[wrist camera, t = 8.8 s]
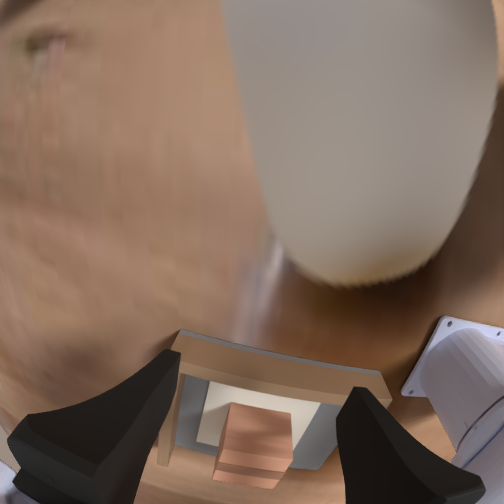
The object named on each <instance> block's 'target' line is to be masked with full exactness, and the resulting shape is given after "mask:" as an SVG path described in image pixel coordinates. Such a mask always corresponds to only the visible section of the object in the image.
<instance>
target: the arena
mask: <svg viewBox="0 0 504 504" xmlns="http://www.w3.org/2000/svg"><path fill="white" fill-rule="evenodd" d="M170 350H173V351H177V352H180V353H181V358H180V366H179V373H178V381H177V389H176V392H175V395H174V398H173V401H172V404H171V407H170V410H169V412H168V414H167V416H166V418H165V421H164V423H163V425H162V427H161V429H160V431H159V440H158V456H157V464H159V465H162V466H165V467H168V463H169V460H170V457H171V454H172V451H173V448H174V445H177V446H180V447H184V448H187V449H191V450H195V451H199V452H203V453H207V454H211V455H216V456H217V451H218V446H219V440H220V436H221V432H222V429H223V426H224V423H225V420H226V417H227V413H228V410H229V407H230V404H231V402H234V403H239V404H244V405H248V406H253V407H258V408H264V409H269V410H275V411H281V412H287V413H291V424H292V444H293V461H292V462H291V464H290V465H289V467H288V468H298V469H310V470H318V469H319V468H320V467H321V466H322V464H323V463H324V462H325V460H326V459H327V458H328V457H329V455H330V454H331V453H332V451H333V450H334V449H335V447H336V446H337V444H338V443H337V437H336V417H337V415H338V414H339V412H340V410H341V408H342V407H343V405H344V403H345V401H346V400H347V398H348V396H349V394H350V392H351V391H352V389H353V387H354V386H357V387H366V388H367V389H368V390H369V391H370V392H371V393H372V394H373V395H374V396H375V397H376V398H377V399H378V400H379V402H380V403H381V404H382V405H383V406H384V407H385V408H386V409H387V408H388V406H389V405H390V403H391V402H392V400H393V399H392V397H391V395H390V392H389V390H388V388H387V386H386V384H385V381H384V379H383V377H382V375H381V373H380V371H376V370H369V369H362V368H355V367H348V366H342V365H336V364H330V363H325V362H319V361H313V360H308V359H303V358H298V357H293V356H288V355H283V354H278V353H274V352H269V351H265V350H260V349H256V348H251V347H247V346H243V345H239V344H235V343H231V342H227V341H223V340H219V339H215V338H211V337H208V336H204V335H200V334H197V333H193V332H190V331H186V330H183V329H181V330H180V332H179V333H178V335H177V337H176V339H175V341H174V343H173V345H172V347H171V349H170Z"/></svg>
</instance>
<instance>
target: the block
mask: <svg viewBox="0 0 504 504" xmlns="http://www.w3.org/2000/svg"><path fill="white" fill-rule="evenodd" d="M292 461H293V444H292V424H291V413H287V412H281V411H275V410H269V409H264V408H258V407H253V406H248V405H244V404H239V403H234V402H231V404H230V407H229V410H228V413H227V417H226V420H225V423H224V426H223V429H222V432H221V436H220V440H219V446H218V451H217V456H216V462H215V467H214V472H213V478H212V479H214V480H219V481H224V482H229V483H234V484H240V485H246V486H253V487H260V488H268V489H273V488H274V487H275V485H276V484H277V483H278V481H279V480H280V479H281V478H282V477H283V475H284V474H285V471H286V470H287V468H288V467H289V465H290V464H291V462H292Z"/></svg>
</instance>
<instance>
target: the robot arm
mask: <svg viewBox="0 0 504 504" xmlns="http://www.w3.org/2000/svg"><path fill="white" fill-rule="evenodd" d="M448 322H450V323H449V324H448ZM447 324H448V325H447ZM180 358H181V353H180V352H177V351H173V350H170V349H165V350H163V351H162V352H161V353H160V354H159V355H158V356H157V357H155V358H154V359H153V360H152V361H151V362H150V363H148V364H147V365H146V366H145V367H143V368H142V369H141V370H139V371H138V372H137V373H135V374H134V375H133V376H131V377H130V378H128V379H127V380H125V381H123V382H122V383H120V384H119V385H117V386H115V387H114V388H112V389H110V390H108V391H106V392H104V393H102V394H100V395H98V396H96V397H94V398H91V399H89V400H87V401H84V402H82V403H79V404H76V405H73V406H69V407H66V408H62V409H58V410H54V411H49V412H42V413H36V414H28V415H27V416H26V417H25V418H24V419H23V420H22V421H21V422H20V423H19V424H18V426H17V427H16V428H15V429H14V431H13V432H12V433H11V435H10V436H9V437H8V438H7V443H8V446H9V448H10V450H11V452H12V454H13V455H14V457H15V459H16V460H17V462H18V464H19V465H20V467H21V469H20V470H19V472H18V473H16V471H14V470H13V469H12V468H11V467H10V466H9V465H7V464H6V463H4V462H3V461H2V460H0V504H133V503H134V499H135V496H136V492H137V489H138V485H139V482H140V479H141V476H142V473H143V470H144V467H145V464H146V461H147V458H148V455H149V453H150V450H151V448H152V446H153V444H154V442H155V439H156V437H157V435H158V433H159V431H160V429H161V427H162V425H163V423H164V421H165V418H166V416H167V414H168V412H169V410H170V407H171V404H172V401H173V398H174V395H175V392H176V389H177V381H178V373H179V366H180ZM411 390H412V391H411ZM401 394H402V395H403V396H413V397H427V398H428V399H429V401H430V403H431V405H432V407H433V408H434V410H435V412H436V414H437V416H438V418H439V420H440V421H441V423H442V425H443V427H444V429H445V431H446V433H447V435H448V437H449V439H450V441H451V443H452V445H453V447H454V448H455V451H456V453H457V454H456V455H455V457H454V458H453V459H452V460H451V463H452V464H451V463H449V462H447V461H445V460H444V459H442V458H440V457H439V456H437V455H436V454H434V453H433V452H431V451H430V450H429V449H427V448H426V447H425V446H423V445H422V444H421V443H420V442H418V441H417V440H416V439H415V438H414V437H413V436H411V435H410V434H409V433H408V432H407V431H406V430H405V429H404V428H403V427H402V426H401V425H400V424H399V423H398V422H397V421H396V420H395V418H394V417H393V416H392V415H391V414H390V413H389V412H388V411H387V410H386V408H385V407H384V406H383V405H382V404H381V403H380V402H379V400H378V399H377V398H376V397H375V396H374V395H373V394H372V393H371V392H370V391H369V390H368V389H367V388H366V387H357V386H354V387H353V389H352V391H351V392H350V394H349V396H348V398H347V400H346V401H345V403H344V405H343V407H342V408H341V410H340V412H339V414H338V415H337V417H336V437H337V443H338V449H339V454H340V459H341V464H342V470H343V475H344V481H345V494H346V504H504V328H500V327H495V326H491V325H486V324H482V323H477V322H472V321H468V320H463V319H459V318H454V317H450V316H443V317H441V318H440V320H439V322H438V324H437V326H436V328H435V330H434V332H433V334H432V336H431V338H430V340H429V342H428V344H427V346H426V347H425V349H424V351H423V353H422V355H421V357H420V359H419V360H418V362H417V364H416V366H415V367H414V369H413V371H412V372H411V374H410V376H409V378H408V379H407V381H406V383H405V384H404V386H403V387H402V389H401Z"/></svg>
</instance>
